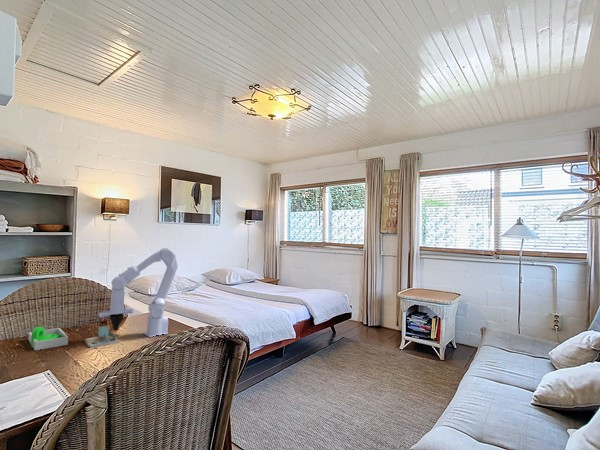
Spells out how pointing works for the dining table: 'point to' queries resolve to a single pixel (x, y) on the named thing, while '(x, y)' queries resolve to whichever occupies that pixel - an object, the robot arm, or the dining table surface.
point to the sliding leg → (103, 332)
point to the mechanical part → (42, 335)
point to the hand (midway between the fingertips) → (115, 329)
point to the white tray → (50, 340)
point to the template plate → (102, 342)
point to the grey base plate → (101, 338)
